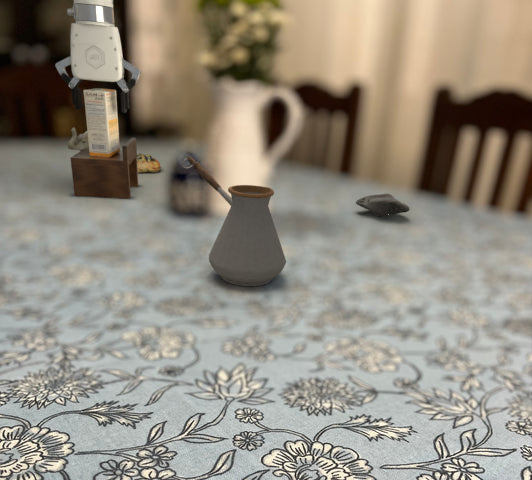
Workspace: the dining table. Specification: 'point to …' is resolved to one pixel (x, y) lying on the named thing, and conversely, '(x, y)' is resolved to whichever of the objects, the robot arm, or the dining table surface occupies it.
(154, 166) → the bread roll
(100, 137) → the supplement box
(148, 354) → the dining table surface
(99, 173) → the dark wooden step block
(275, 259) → the coffee pot
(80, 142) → the figurine
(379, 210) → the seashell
